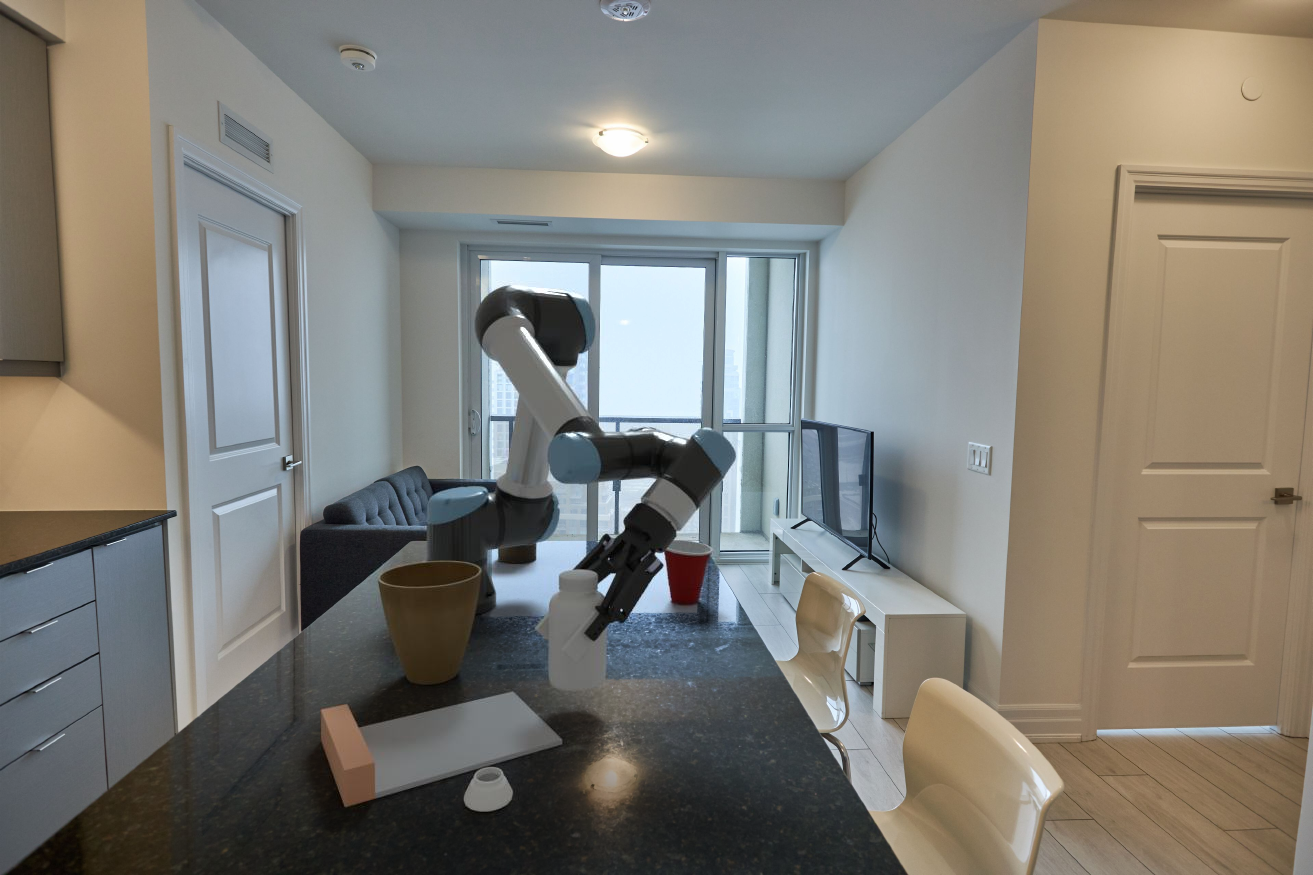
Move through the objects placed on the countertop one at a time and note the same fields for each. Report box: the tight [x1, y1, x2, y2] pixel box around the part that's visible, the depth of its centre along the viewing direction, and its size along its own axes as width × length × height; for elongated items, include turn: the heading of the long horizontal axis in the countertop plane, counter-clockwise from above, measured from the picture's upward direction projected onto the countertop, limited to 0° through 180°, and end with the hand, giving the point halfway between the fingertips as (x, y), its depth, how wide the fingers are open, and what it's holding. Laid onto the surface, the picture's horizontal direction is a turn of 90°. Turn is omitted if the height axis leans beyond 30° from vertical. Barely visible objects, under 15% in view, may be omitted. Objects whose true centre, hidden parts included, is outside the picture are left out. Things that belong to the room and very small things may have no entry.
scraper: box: [320, 691, 563, 808], centre depth 86 cm, size 16×25×4 cm, turn 124°
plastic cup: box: [663, 539, 714, 606], centre depth 146 cm, size 11×11×12 cm
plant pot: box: [377, 561, 482, 686], centre depth 106 cm, size 15×15×16 cm
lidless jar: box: [463, 766, 514, 812], centre depth 75 cm, size 5×3×5 cm
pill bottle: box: [547, 569, 608, 692], centre depth 96 cm, size 8×8×15 cm
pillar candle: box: [497, 543, 538, 564], centre depth 178 cm, size 10×10×15 cm
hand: (555, 645), depth 94 cm, fingers closed on pill bottle, 8 cm apart
